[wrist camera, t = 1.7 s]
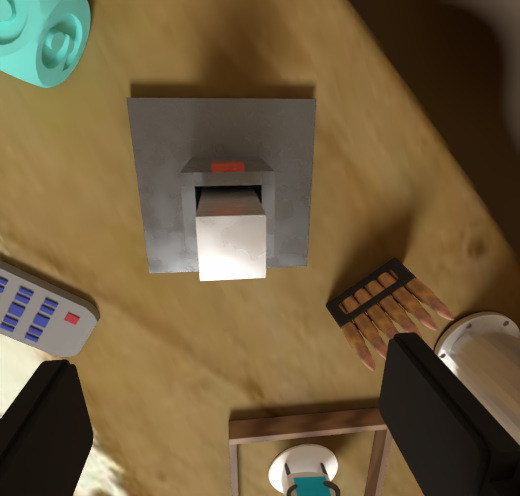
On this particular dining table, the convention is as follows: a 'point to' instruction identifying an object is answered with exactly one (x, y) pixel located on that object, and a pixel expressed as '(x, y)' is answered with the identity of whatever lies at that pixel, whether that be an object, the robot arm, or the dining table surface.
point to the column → (231, 233)
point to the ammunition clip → (384, 308)
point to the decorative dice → (42, 38)
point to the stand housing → (222, 170)
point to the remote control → (43, 313)
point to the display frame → (316, 427)
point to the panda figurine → (305, 471)
